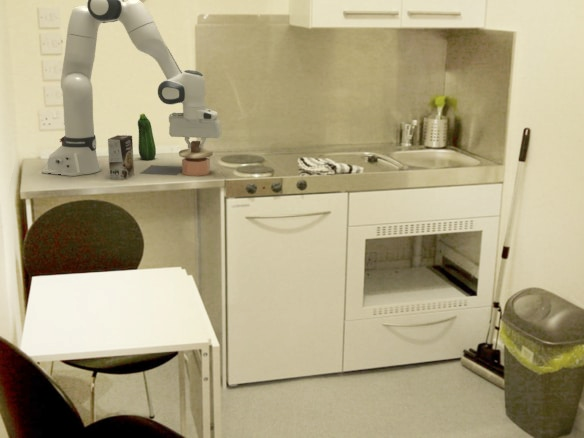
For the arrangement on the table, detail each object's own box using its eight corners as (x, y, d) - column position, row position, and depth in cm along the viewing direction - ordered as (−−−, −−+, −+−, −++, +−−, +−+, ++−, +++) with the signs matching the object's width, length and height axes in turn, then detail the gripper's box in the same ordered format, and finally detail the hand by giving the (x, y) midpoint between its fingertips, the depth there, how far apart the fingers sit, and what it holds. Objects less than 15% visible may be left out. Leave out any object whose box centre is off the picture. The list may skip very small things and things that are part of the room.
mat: (139, 174, 294) (139, 173, 294) (151, 166, 308) (151, 165, 308) (176, 176, 292) (176, 175, 292) (187, 168, 306) (186, 166, 306)
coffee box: (125, 181, 283) (123, 139, 279) (109, 180, 285) (106, 138, 280) (135, 176, 292) (132, 135, 287) (119, 175, 293) (117, 134, 288)
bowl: (180, 176, 292) (179, 161, 290) (187, 170, 302) (187, 156, 300) (205, 177, 291) (205, 162, 289) (211, 171, 300) (211, 157, 298)
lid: (175, 157, 289) (174, 144, 287) (184, 150, 301) (183, 138, 300) (208, 158, 287) (207, 145, 286) (216, 151, 299) (215, 139, 298)
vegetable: (159, 160, 320) (157, 113, 314) (145, 162, 315) (143, 115, 309) (149, 157, 325) (147, 111, 319) (135, 160, 320) (133, 113, 314)
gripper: (166, 113, 288) (167, 149, 292) (218, 115, 285) (218, 151, 289) (170, 111, 294) (172, 146, 298) (221, 112, 291) (222, 147, 295)
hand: (195, 148), depth 293 cm, fingers closed on lid, 3 cm apart
